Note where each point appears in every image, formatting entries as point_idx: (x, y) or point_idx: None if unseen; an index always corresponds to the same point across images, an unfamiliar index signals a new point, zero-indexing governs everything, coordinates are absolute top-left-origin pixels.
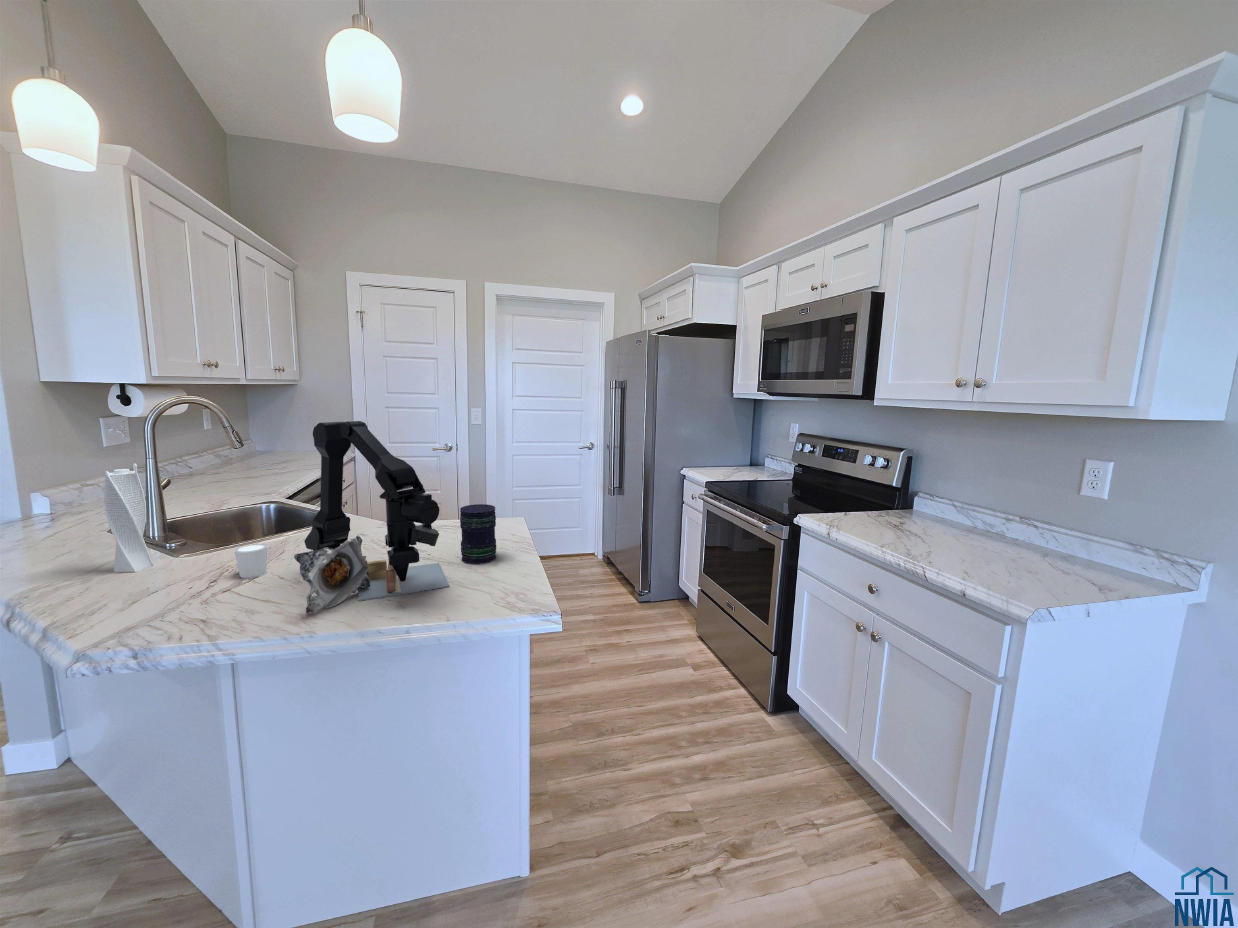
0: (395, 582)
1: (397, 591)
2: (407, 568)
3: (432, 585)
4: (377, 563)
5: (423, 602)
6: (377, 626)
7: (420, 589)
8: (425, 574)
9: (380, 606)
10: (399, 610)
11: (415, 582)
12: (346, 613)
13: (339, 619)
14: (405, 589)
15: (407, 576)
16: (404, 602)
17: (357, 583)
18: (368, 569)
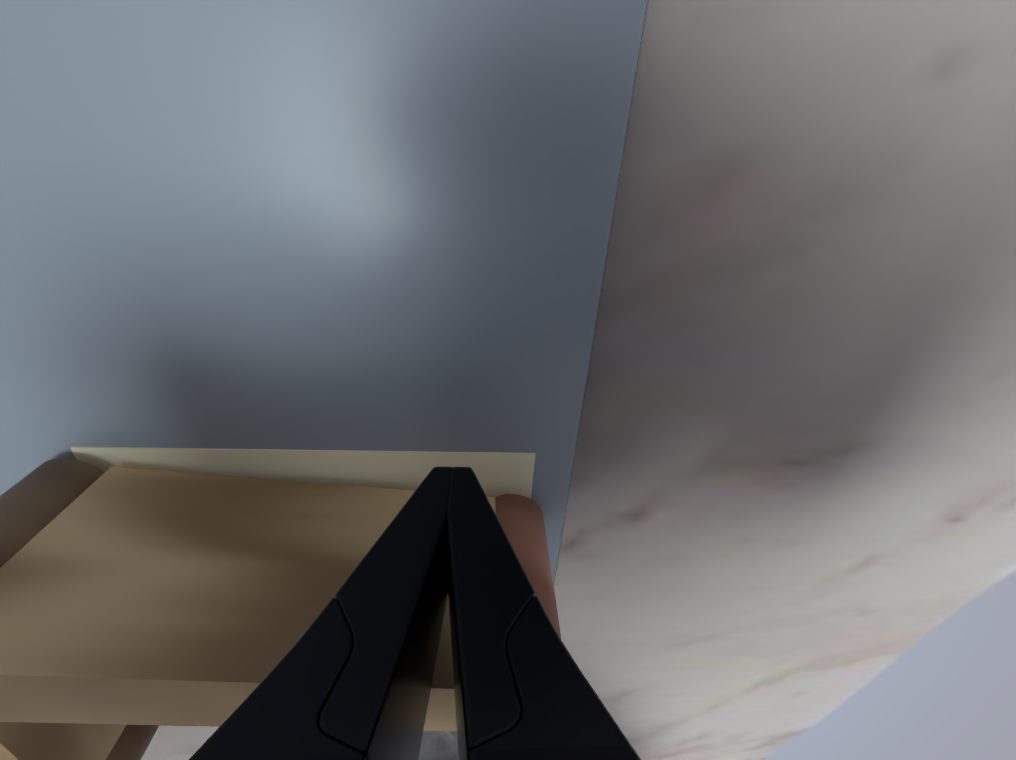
0: (325, 489)
1: (526, 475)
2: (540, 609)
3: (529, 116)
4: (36, 750)
5: (895, 298)
6: (985, 578)
7: (588, 287)
8: (16, 131)
9: (708, 560)
10: (878, 475)
11: (331, 306)
12: (680, 672)
13: (733, 687)
14: (504, 415)
15: (96, 362)
16: (759, 436)
17: (429, 742)
18: (121, 727)
